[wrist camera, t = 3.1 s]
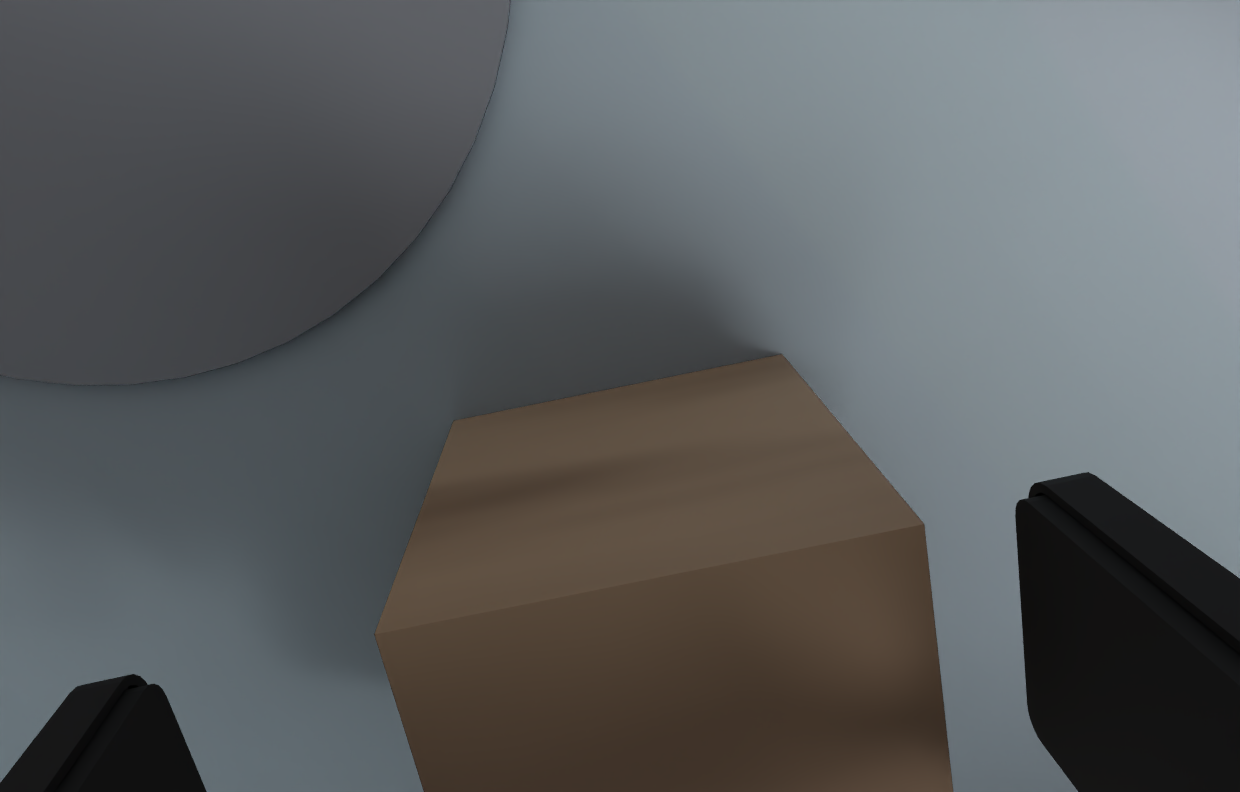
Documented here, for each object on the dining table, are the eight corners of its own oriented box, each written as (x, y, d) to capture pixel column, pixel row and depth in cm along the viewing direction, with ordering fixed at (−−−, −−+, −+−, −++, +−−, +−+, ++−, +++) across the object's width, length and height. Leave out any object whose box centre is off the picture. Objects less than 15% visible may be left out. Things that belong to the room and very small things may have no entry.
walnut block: (824, 640, 16) (970, 950, 10) (527, 699, 16) (502, 1043, 10) (781, 353, 14) (924, 524, 8) (453, 419, 14) (374, 635, 8)
